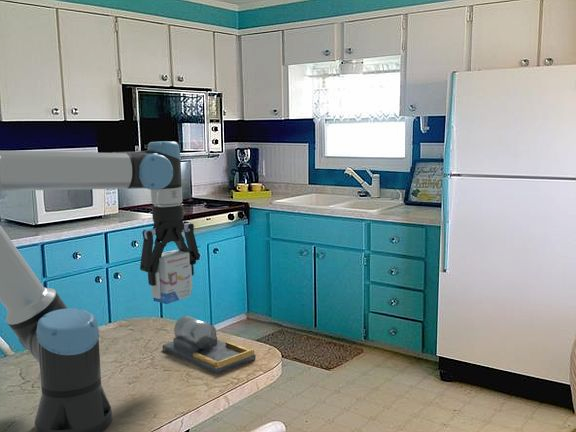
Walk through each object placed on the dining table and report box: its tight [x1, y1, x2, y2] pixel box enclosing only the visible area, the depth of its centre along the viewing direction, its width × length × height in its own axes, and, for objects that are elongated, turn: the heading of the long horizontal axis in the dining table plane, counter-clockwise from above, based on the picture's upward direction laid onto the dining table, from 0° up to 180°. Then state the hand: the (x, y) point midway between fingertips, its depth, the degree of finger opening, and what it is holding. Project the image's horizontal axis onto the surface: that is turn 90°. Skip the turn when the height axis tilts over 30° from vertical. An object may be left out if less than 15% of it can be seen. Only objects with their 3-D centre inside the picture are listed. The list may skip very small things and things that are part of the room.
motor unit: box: [162, 315, 257, 375], centre depth 161 cm, size 13×24×8 cm, turn 46°
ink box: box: [152, 249, 192, 305], centre depth 149 cm, size 9×5×12 cm, turn 143°
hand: (172, 293), depth 149 cm, fingers closed on ink box, 9 cm apart
